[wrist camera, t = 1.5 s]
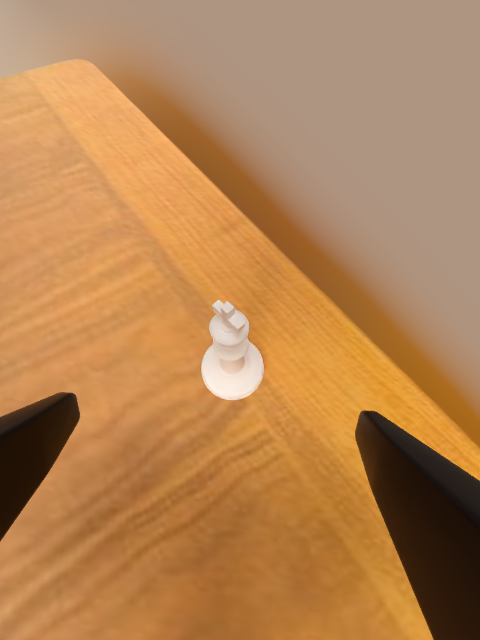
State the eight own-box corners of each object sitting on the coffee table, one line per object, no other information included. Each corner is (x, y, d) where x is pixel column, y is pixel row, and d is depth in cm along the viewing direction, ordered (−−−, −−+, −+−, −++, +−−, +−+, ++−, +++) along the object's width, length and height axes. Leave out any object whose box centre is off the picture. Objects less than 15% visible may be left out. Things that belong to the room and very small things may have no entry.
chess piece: (233, 327, 21) (229, 244, 12) (276, 367, 20) (309, 307, 10) (188, 367, 19) (145, 307, 10) (232, 414, 18) (225, 391, 9)
